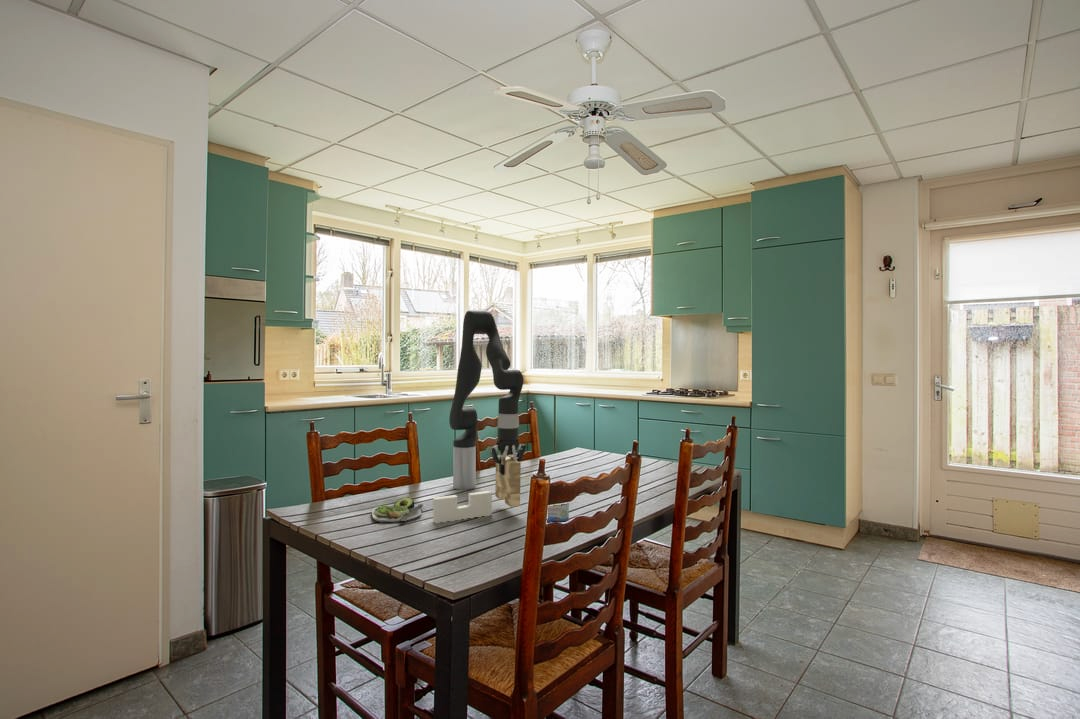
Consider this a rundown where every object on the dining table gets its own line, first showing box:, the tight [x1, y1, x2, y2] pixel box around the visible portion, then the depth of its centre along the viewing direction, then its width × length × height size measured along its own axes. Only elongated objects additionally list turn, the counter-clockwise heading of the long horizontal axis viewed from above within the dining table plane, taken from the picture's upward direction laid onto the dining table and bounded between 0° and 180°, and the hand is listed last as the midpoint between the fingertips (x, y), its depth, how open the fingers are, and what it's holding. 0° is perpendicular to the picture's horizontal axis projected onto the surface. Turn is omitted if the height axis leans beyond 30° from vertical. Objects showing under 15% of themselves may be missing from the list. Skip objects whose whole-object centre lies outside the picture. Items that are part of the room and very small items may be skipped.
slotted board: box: [432, 490, 493, 524], centre depth 185 cm, size 2×20×8 cm, turn 117°
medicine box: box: [546, 502, 570, 523], centre depth 184 cm, size 8×4×9 cm, turn 99°
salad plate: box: [371, 497, 424, 523], centre depth 187 cm, size 19×18×5 cm
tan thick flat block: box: [494, 454, 522, 508], centre depth 193 cm, size 14×4×15 cm, turn 27°
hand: (507, 473), depth 193 cm, fingers closed on tan thick flat block, 3 cm apart
